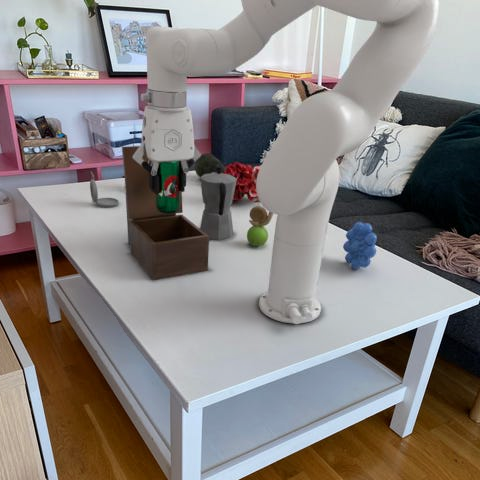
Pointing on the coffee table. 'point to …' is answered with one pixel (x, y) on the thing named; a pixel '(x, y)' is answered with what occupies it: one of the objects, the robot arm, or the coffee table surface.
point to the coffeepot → (217, 204)
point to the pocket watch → (102, 201)
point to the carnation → (242, 173)
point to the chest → (168, 246)
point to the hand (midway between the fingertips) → (167, 190)
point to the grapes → (360, 245)
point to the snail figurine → (258, 226)
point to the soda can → (168, 187)
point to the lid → (139, 187)
